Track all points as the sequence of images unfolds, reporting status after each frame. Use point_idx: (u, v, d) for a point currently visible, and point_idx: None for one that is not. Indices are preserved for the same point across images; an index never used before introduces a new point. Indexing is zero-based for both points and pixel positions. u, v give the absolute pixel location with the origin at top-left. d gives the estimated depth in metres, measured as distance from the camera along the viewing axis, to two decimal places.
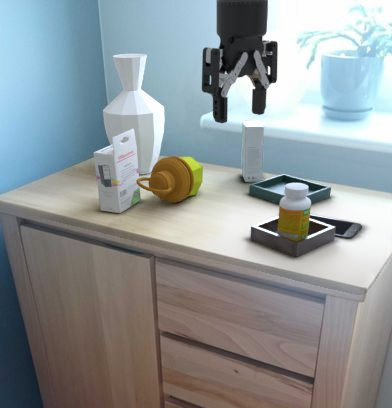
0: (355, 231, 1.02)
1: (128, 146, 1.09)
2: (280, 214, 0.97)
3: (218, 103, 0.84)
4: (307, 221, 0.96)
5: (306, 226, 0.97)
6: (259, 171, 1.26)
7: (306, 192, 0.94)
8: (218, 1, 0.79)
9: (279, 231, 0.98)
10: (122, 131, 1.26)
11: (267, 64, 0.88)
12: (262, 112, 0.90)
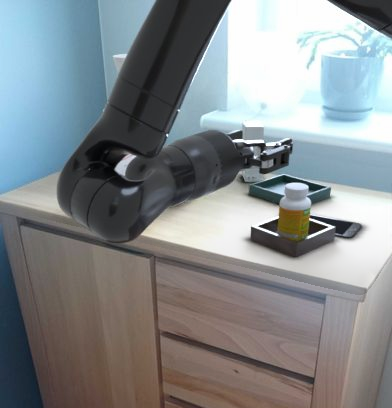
0: (355, 231, 1.02)
1: None
2: (280, 214, 0.97)
3: None
4: (307, 221, 0.96)
5: (306, 226, 0.97)
6: None
7: (306, 192, 0.94)
8: (219, 181, 0.71)
9: (279, 231, 0.98)
10: None
11: None
12: (240, 130, 0.83)
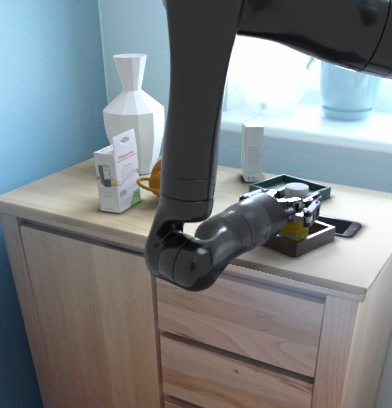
0: (355, 230, 1.02)
1: (128, 146, 1.09)
2: None
3: (316, 201, 0.93)
4: None
5: None
6: (259, 171, 1.26)
7: (306, 192, 0.94)
8: (268, 237, 0.86)
9: None
10: (122, 131, 1.26)
11: None
12: None
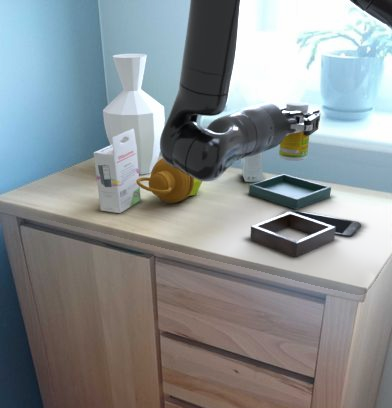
0: (355, 230, 1.03)
1: (128, 146, 1.09)
2: None
3: None
4: (307, 137, 1.04)
5: (306, 142, 1.04)
6: (259, 171, 1.26)
7: (306, 108, 1.01)
8: (272, 141, 0.93)
9: (281, 148, 1.06)
10: (122, 131, 1.26)
11: None
12: None
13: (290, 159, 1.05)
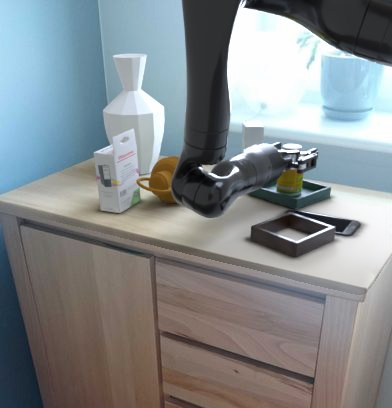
0: (354, 229, 1.03)
1: (128, 146, 1.09)
2: None
3: None
4: (301, 176, 1.16)
5: (300, 180, 1.16)
6: None
7: (300, 151, 1.13)
8: (270, 179, 1.05)
9: (278, 185, 1.18)
10: (122, 131, 1.26)
11: None
12: (279, 142, 1.17)
13: None
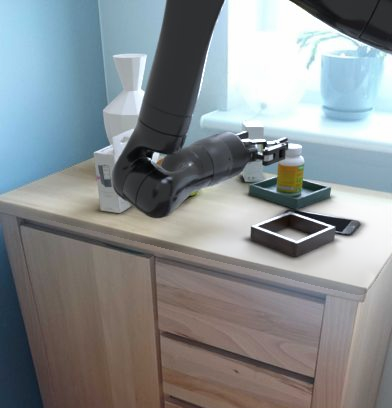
0: (354, 228, 1.03)
1: None
2: (278, 170, 1.16)
3: None
4: (301, 176, 1.16)
5: (300, 180, 1.16)
6: (259, 171, 1.26)
7: (300, 151, 1.13)
8: (231, 172, 0.92)
9: (278, 185, 1.18)
10: (122, 131, 1.26)
11: None
12: None
13: None
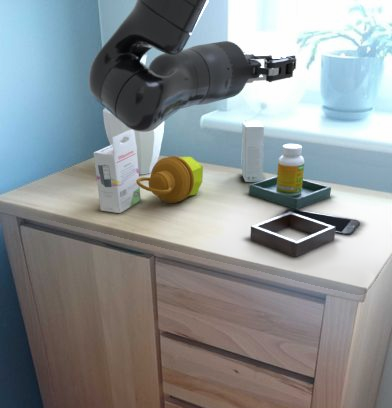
0: (354, 228, 1.03)
1: (128, 146, 1.09)
2: (278, 170, 1.16)
3: None
4: (301, 176, 1.16)
5: (300, 180, 1.16)
6: (259, 171, 1.26)
7: (300, 151, 1.13)
8: (230, 86, 0.79)
9: (278, 185, 1.18)
10: (122, 131, 1.26)
11: None
12: (247, 52, 0.91)
13: None
